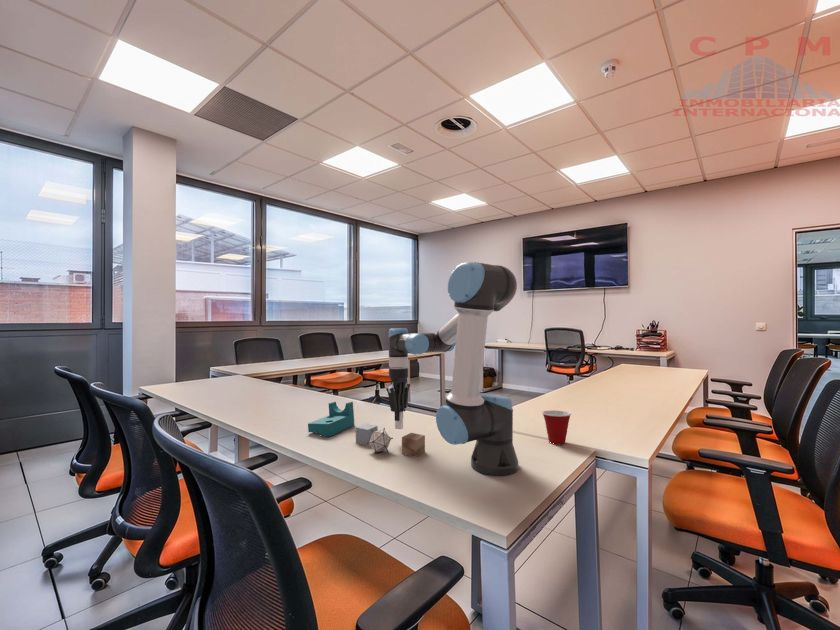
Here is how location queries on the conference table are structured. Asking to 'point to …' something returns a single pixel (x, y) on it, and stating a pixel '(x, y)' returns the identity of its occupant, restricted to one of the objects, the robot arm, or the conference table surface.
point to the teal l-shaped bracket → (333, 420)
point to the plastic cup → (556, 425)
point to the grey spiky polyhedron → (379, 440)
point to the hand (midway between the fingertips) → (399, 428)
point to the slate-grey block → (365, 433)
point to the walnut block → (413, 444)
